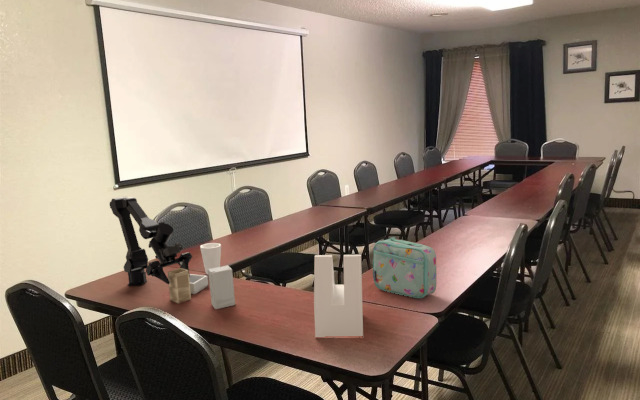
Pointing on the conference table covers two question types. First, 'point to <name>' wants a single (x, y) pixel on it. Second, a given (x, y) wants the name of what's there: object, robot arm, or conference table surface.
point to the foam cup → (211, 255)
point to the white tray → (197, 283)
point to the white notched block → (338, 298)
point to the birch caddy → (179, 285)
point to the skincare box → (221, 287)
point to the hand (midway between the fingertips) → (179, 280)
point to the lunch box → (404, 268)
